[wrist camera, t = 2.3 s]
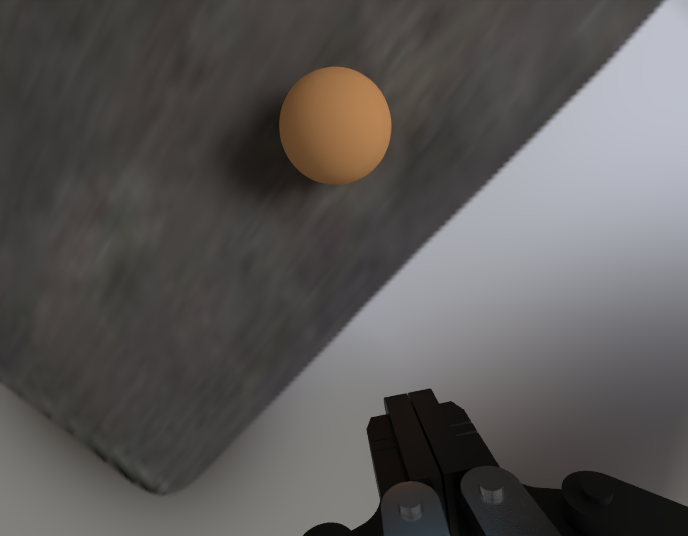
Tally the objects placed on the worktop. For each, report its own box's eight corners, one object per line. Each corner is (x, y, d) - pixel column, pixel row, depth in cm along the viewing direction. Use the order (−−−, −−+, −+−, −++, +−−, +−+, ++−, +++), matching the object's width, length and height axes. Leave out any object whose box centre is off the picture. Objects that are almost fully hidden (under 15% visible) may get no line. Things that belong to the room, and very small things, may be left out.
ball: (284, 182, 24) (276, 188, 18) (281, 78, 23) (272, 51, 17) (379, 182, 24) (399, 188, 19) (382, 80, 23) (404, 54, 18)
